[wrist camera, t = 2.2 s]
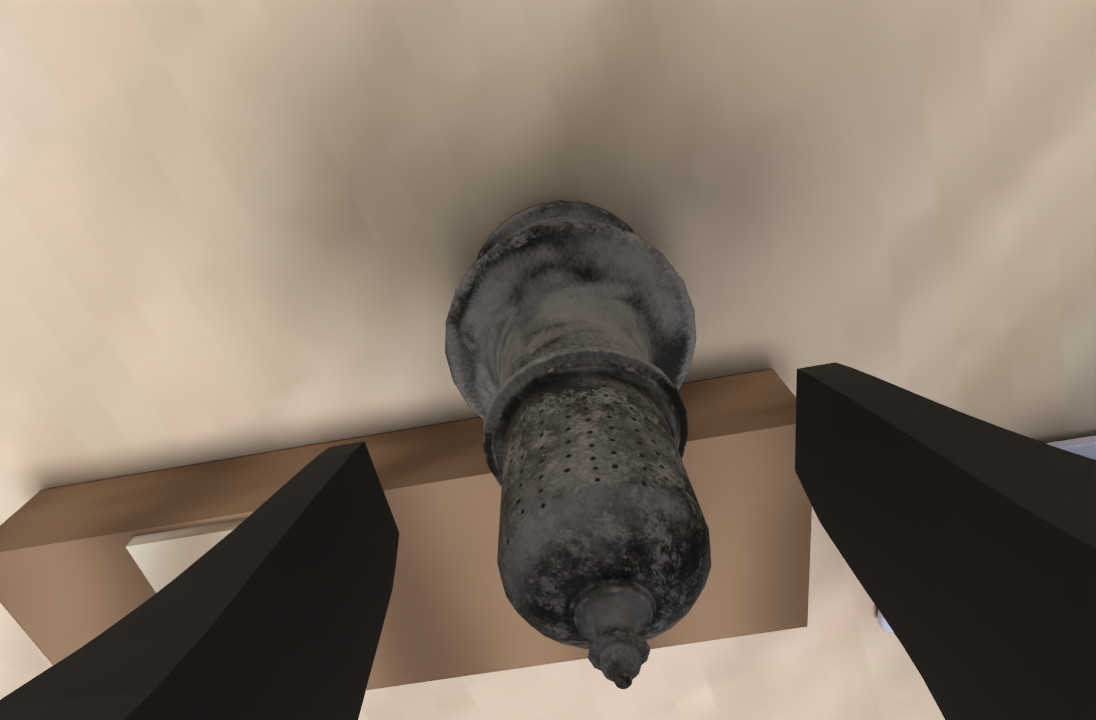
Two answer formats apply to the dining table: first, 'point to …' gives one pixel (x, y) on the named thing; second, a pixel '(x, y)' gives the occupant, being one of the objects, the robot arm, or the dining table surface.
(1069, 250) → the dining table surface
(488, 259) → the salt shaker
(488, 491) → the walnut fence board
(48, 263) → the dining table surface
